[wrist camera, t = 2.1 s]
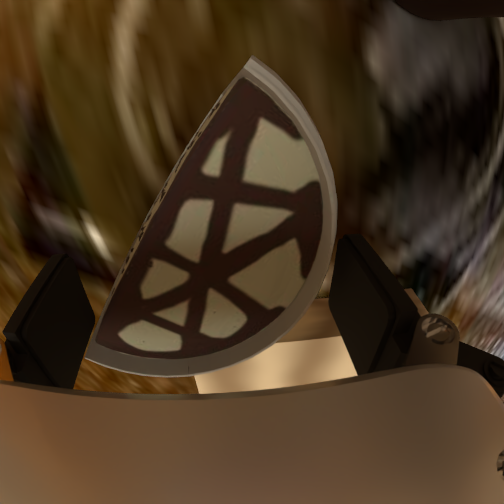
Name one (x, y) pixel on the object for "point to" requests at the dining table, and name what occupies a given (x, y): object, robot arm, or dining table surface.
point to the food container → (226, 240)
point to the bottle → (453, 8)
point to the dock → (293, 356)
